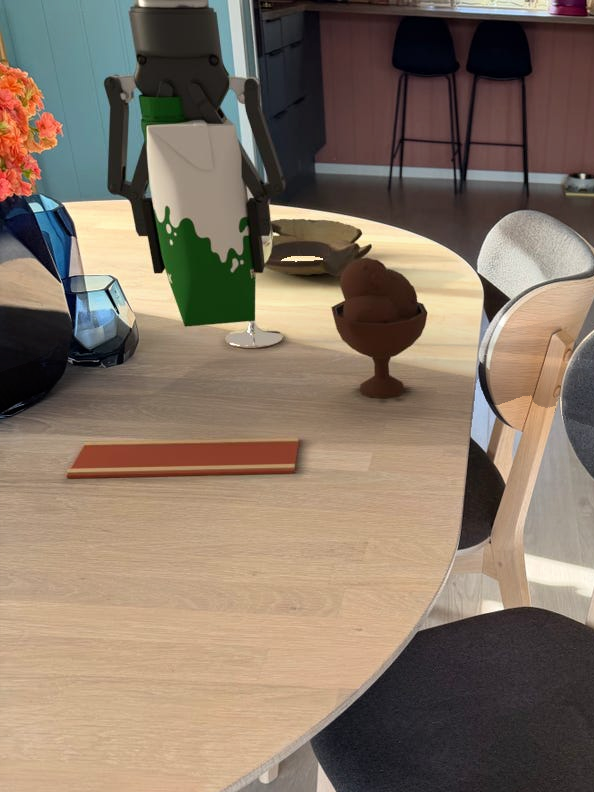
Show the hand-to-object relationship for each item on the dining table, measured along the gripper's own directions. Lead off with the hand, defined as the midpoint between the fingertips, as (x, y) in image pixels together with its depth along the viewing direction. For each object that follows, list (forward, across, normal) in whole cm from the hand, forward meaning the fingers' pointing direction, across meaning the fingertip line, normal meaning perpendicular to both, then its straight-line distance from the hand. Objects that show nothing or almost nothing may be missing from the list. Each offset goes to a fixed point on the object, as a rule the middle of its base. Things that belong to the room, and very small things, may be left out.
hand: (210, 269), depth 95 cm
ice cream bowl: (+16, +17, +7) cm, 24 cm away
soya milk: (+5, 0, 0) cm, 5 cm away
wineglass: (+16, 0, +26) cm, 30 cm away
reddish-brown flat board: (+16, -3, -11) cm, 19 cm away
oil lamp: (+16, +5, +59) cm, 61 cm away
